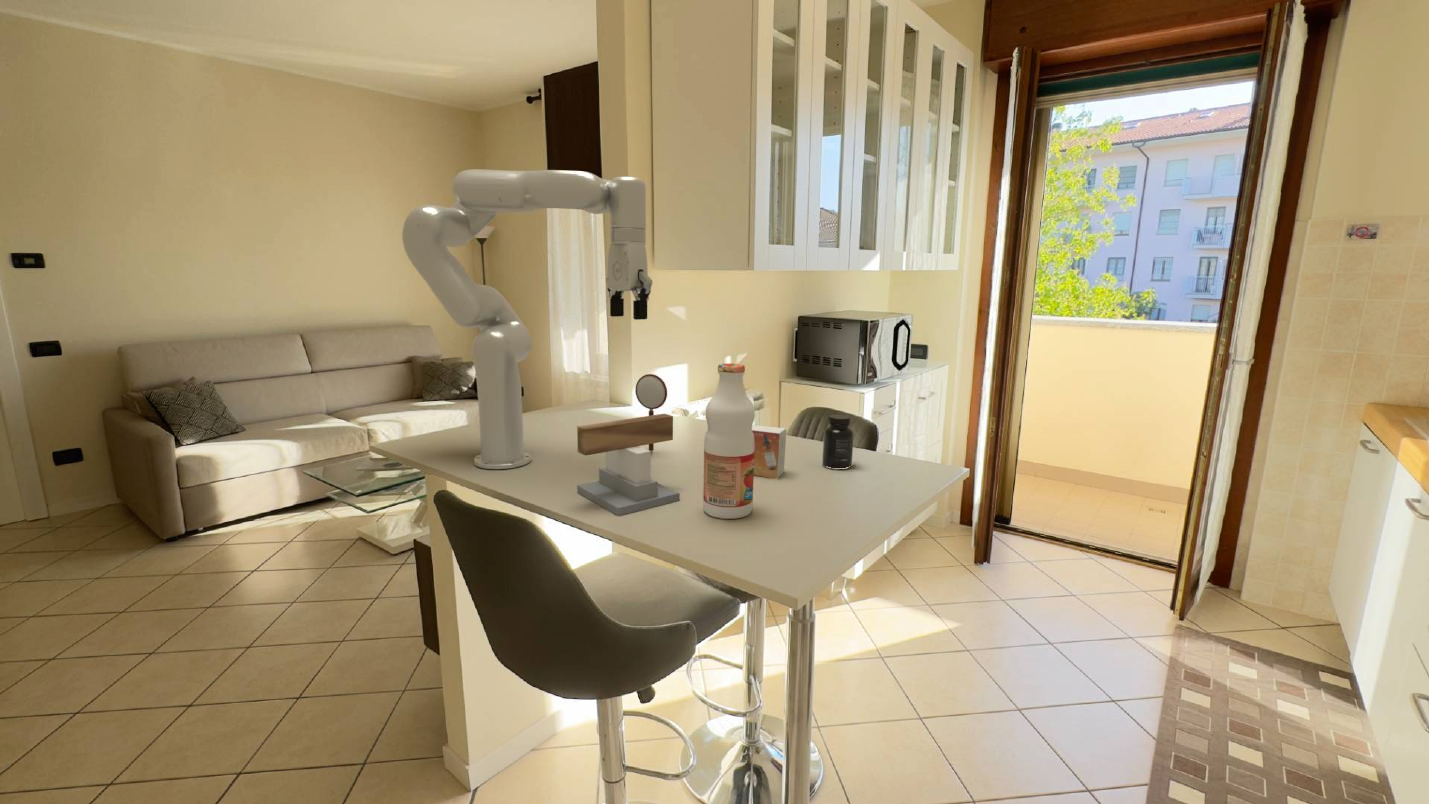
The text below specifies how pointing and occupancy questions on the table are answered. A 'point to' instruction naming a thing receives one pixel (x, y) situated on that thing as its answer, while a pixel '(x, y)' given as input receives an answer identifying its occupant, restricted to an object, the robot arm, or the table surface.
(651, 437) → the walnut bar
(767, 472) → the small box
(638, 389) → the magnifying glass
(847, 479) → the table surface
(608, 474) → the ridge stand
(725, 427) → the fruit juice
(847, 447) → the supplement bottle
